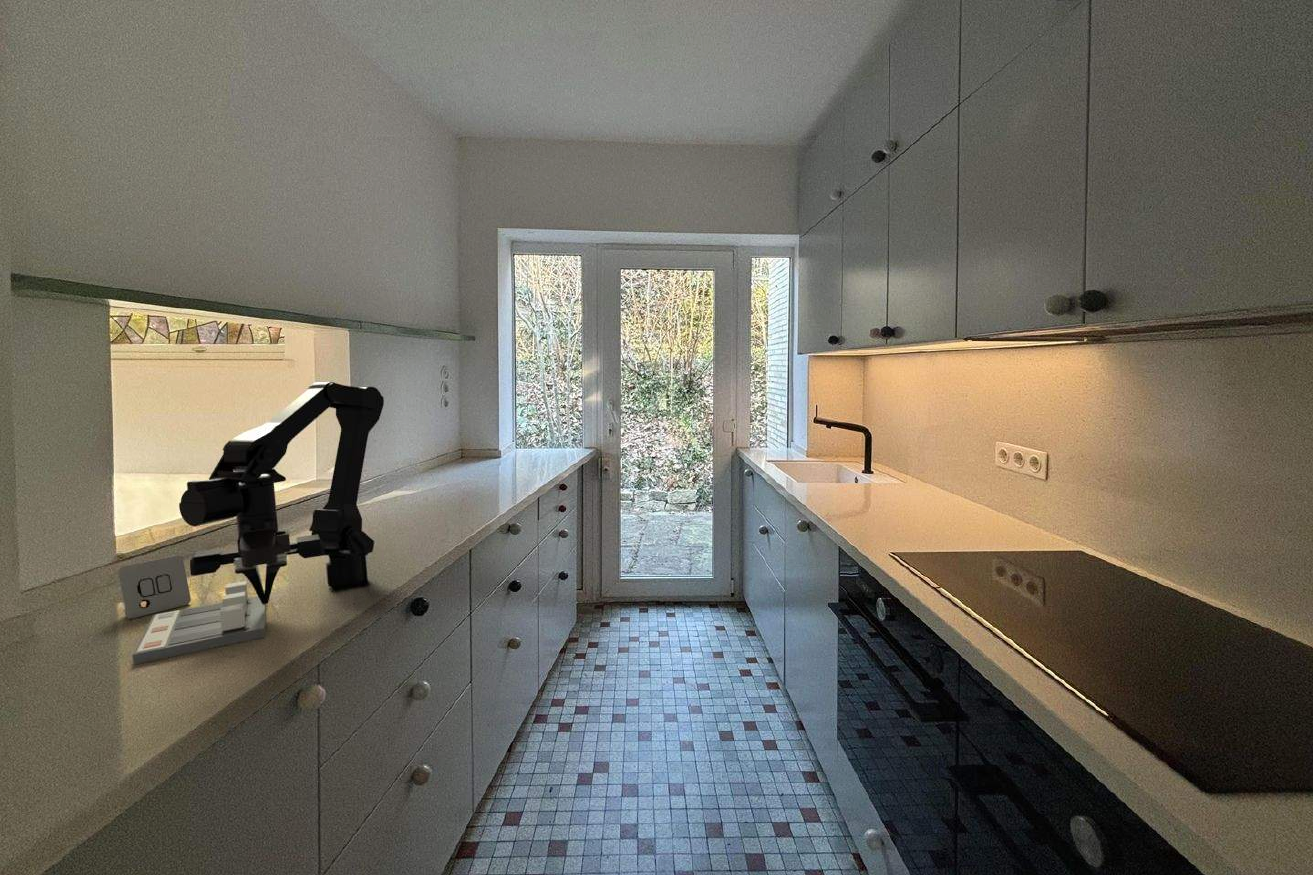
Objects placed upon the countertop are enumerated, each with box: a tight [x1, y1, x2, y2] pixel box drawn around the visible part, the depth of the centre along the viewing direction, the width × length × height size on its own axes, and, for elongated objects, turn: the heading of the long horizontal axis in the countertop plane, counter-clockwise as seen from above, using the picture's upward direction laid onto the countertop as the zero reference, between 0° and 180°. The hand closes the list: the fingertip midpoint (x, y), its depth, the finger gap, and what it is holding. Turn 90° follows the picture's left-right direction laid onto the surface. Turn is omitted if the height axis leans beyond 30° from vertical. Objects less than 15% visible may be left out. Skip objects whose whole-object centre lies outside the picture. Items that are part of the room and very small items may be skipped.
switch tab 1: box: [224, 580, 249, 601], centre depth 110 cm, size 3×2×3 cm
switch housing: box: [132, 595, 267, 665], centre depth 102 cm, size 16×19×2 cm
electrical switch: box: [116, 554, 192, 620], centre depth 113 cm, size 9×5×9 cm, turn 141°
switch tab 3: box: [220, 604, 245, 631], centre depth 98 cm, size 3×2×3 cm
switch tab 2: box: [222, 592, 247, 613], centre depth 104 cm, size 3×2×3 cm
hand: (265, 603), depth 106 cm, fingers closed
